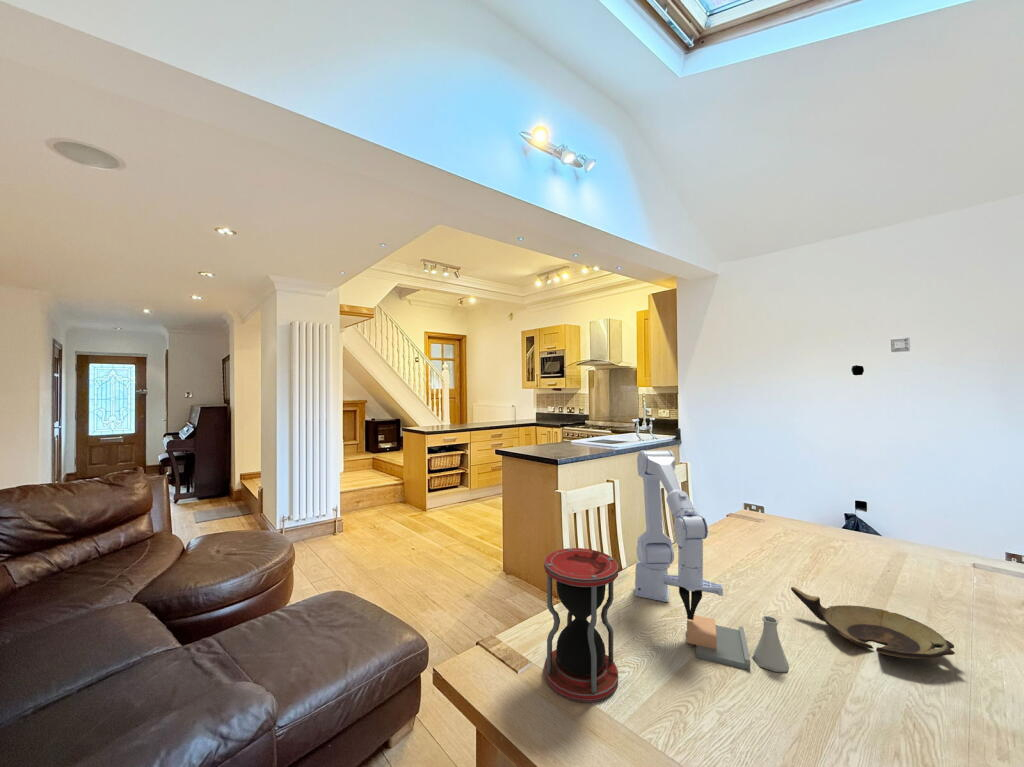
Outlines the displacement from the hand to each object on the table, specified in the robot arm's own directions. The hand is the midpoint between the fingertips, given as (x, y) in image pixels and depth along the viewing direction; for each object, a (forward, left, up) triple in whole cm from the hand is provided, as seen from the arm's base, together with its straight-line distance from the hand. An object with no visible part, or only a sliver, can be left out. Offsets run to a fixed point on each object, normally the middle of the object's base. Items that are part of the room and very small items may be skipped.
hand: (690, 617), depth 104 cm
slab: (-1, 0, -3) cm, 3 cm away
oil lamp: (+41, +18, -6) cm, 45 cm away
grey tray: (+7, 0, -5) cm, 9 cm away
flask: (+17, -2, -6) cm, 18 cm away
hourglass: (-22, -24, -6) cm, 33 cm away
